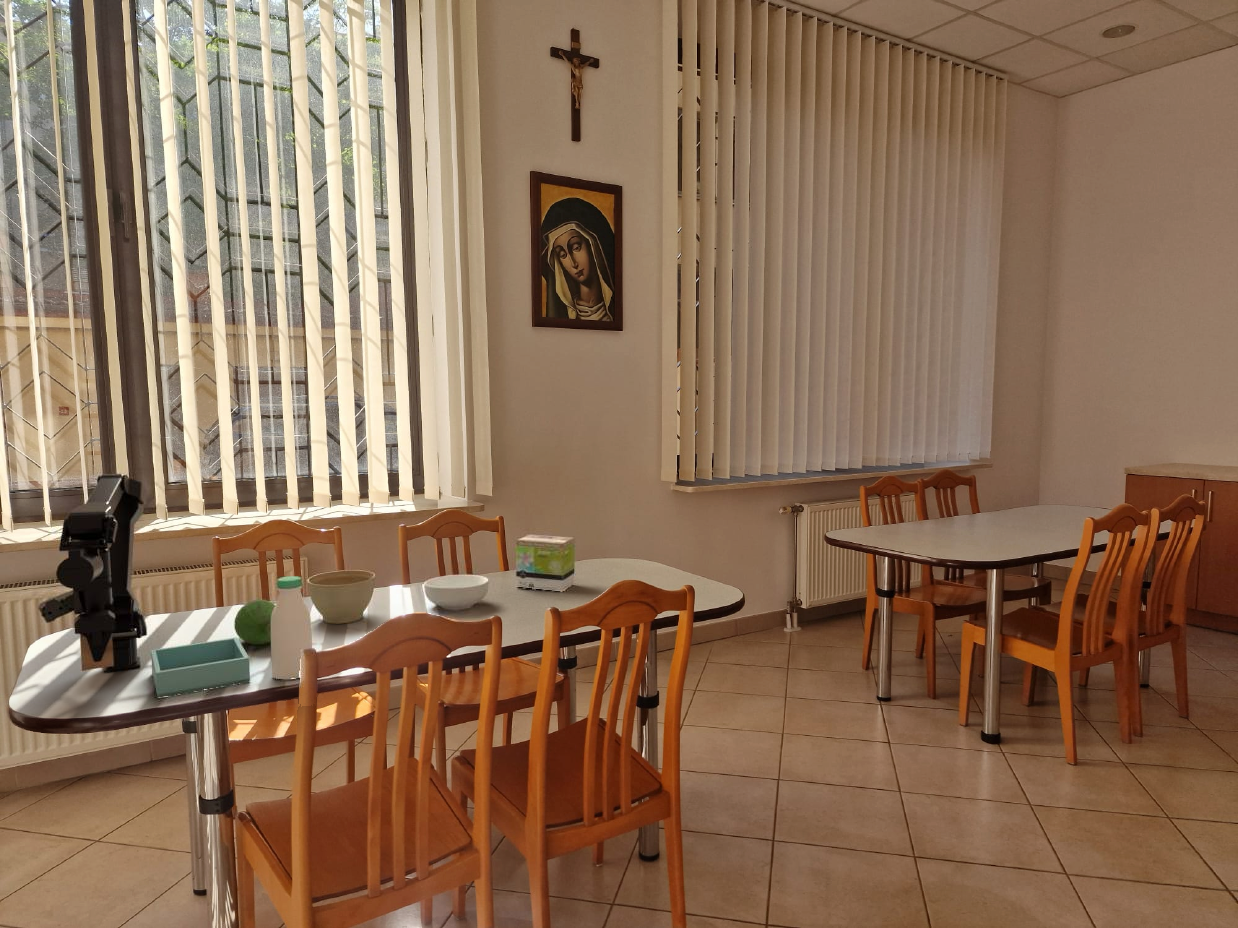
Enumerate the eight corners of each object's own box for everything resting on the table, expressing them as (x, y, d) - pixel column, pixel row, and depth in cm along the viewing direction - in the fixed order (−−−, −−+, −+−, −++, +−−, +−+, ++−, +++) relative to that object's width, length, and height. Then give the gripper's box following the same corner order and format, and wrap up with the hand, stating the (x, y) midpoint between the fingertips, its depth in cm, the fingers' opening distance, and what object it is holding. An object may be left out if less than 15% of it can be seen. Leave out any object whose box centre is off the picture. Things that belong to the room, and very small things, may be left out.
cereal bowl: (495, 599, 224) (495, 574, 224) (479, 615, 208) (479, 588, 207) (436, 597, 226) (435, 572, 225) (415, 613, 209) (415, 587, 209)
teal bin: (152, 673, 164) (150, 650, 164) (238, 659, 173) (237, 637, 173) (157, 698, 151) (155, 672, 151) (250, 682, 160) (249, 657, 159)
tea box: (515, 589, 236) (514, 539, 234) (528, 581, 245) (528, 533, 244) (563, 593, 231) (563, 542, 230) (575, 585, 241) (575, 536, 239)
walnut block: (82, 663, 154) (80, 632, 153) (113, 658, 156) (111, 628, 156) (82, 670, 150) (80, 639, 149) (113, 665, 152) (112, 634, 152)
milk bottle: (320, 674, 164) (316, 577, 163) (283, 684, 159) (279, 584, 157) (301, 665, 170) (298, 572, 168) (265, 675, 164) (261, 578, 162)
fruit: (291, 649, 181) (290, 605, 180) (243, 657, 175) (241, 612, 174) (276, 632, 193) (275, 591, 192) (231, 639, 187) (229, 597, 186)
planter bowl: (305, 615, 208) (303, 573, 207) (369, 607, 215) (368, 567, 214) (312, 631, 194) (311, 587, 193) (381, 622, 201) (380, 580, 200)
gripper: (42, 572, 155) (48, 651, 156) (37, 592, 139) (42, 680, 141) (111, 565, 161) (115, 642, 162) (113, 584, 145) (117, 668, 147)
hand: (97, 657), depth 153 cm, fingers closed on walnut block, 5 cm apart
